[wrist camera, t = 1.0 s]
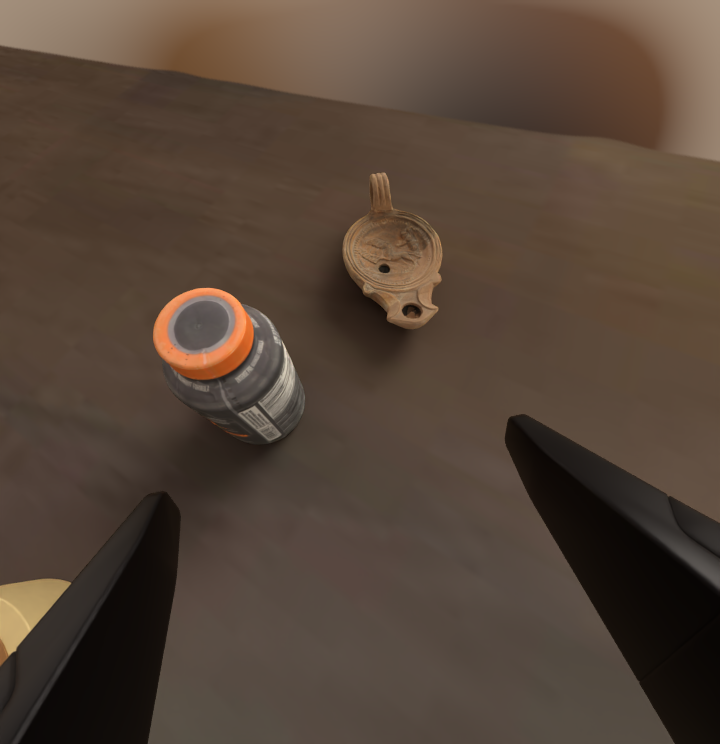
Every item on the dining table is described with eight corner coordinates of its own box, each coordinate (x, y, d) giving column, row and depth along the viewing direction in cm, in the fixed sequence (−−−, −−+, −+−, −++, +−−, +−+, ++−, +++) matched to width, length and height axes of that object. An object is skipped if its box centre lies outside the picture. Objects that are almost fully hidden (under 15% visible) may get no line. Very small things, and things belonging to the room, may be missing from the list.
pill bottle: (205, 401, 26) (101, 318, 16) (273, 351, 28) (218, 245, 17) (254, 465, 24) (172, 419, 14) (323, 407, 26) (296, 327, 15)
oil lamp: (452, 336, 28) (469, 299, 23) (354, 349, 28) (352, 313, 23) (419, 208, 33) (427, 157, 28) (336, 218, 33) (331, 167, 28)
